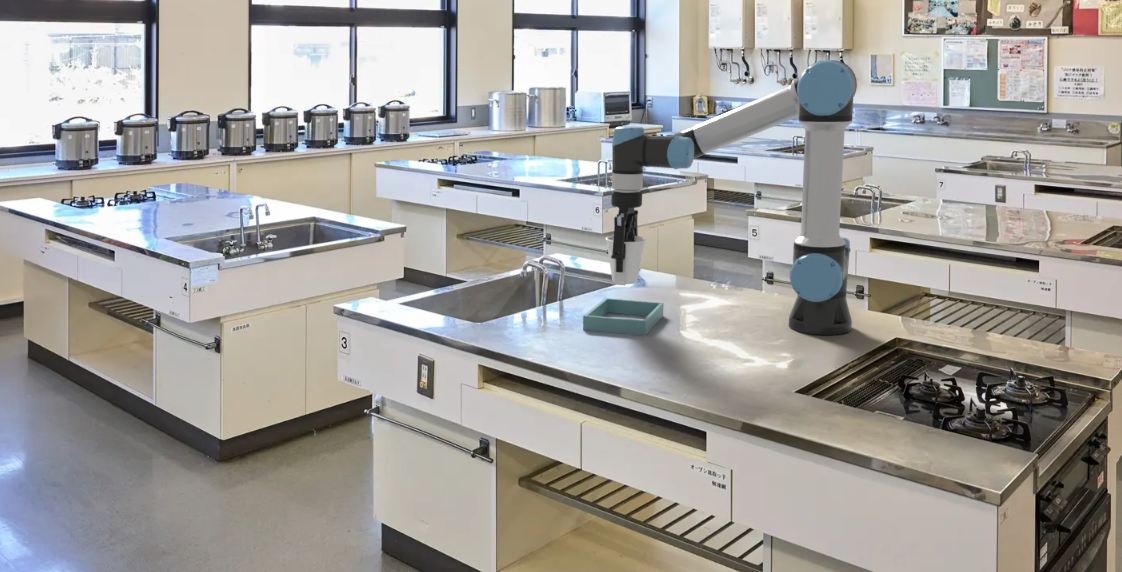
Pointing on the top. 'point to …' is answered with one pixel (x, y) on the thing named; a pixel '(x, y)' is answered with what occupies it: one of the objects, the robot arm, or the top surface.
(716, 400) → the top surface
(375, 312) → the top surface
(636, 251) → the cup
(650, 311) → the walled box
